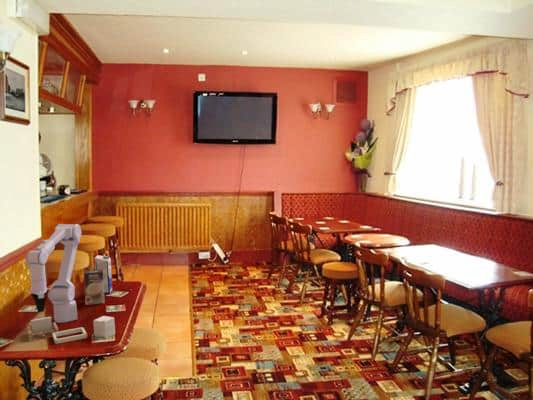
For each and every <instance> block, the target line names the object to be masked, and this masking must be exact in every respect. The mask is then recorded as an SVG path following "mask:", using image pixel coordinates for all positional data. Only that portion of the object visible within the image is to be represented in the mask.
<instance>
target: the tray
mask: <svg viewBox="0 0 533 400" xmlns="http://www.w3.org/2000/svg"><path fill="white" fill-rule="evenodd" d="M77 333H82V334H77ZM73 334H77V335H73ZM67 335H68V336H67ZM69 335H71V336H69ZM62 336H66V337H62ZM57 337H58V338H57ZM60 337H62V338H60ZM52 338H53V341H54V344H55V345H57V344H62V343H68V342H73V341H78V340H82V339H88V333H87V332H86V330H85V328H84V327H83V326H81V327H76V328H71V329H66V330H65V329H64V330H61V331H58V332H55V333H52Z"/></svg>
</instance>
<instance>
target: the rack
mask: <svg viewBox="0 0 533 400" xmlns="http://www.w3.org/2000/svg"><path fill="white" fill-rule="evenodd" d="M52 330H55V332H59V327H58V325H57V322H55V321H54V322H52ZM26 332H27V337H28V338H27V339H28V340H29V342H32V341H34V340H33V338H32V329H31V327H30V326H26ZM51 337H52V336H51ZM51 337H50V338H51ZM46 338H49V337H46ZM46 338H45V333H44V332H43V338H41V339H46ZM52 338H53V337H52ZM41 339H40V340H41ZM37 340H38V341H39V339H36V340H35V341H37Z"/></svg>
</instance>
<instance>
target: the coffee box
mask: <svg viewBox="0 0 533 400" xmlns="http://www.w3.org/2000/svg"><path fill="white" fill-rule="evenodd" d="M83 272H84V274H83V275H84V294H85V295H84V297H85V299H84V301H85V302H84V303H85V304H84V305H86V306H87V305H89V306H90V305H97V304H98V305H101V304H105V294H104V281H103V269H101V270H95V269H92V270H91V269H90V270H84V271H83ZM100 303H101V304H100Z"/></svg>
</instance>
